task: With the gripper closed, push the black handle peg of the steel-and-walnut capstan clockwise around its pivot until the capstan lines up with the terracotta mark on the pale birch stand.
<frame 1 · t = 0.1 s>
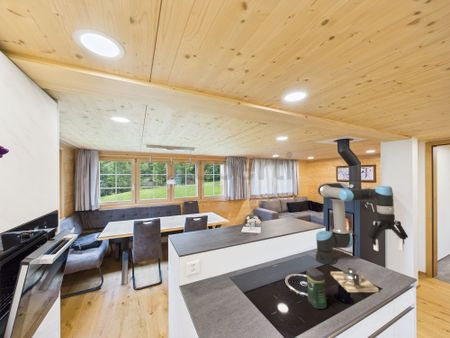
hand: (388, 250, 103), 28 cm above the counter, tool pointing down, fingers open, 13 cm apart
stand: (352, 282, 120), on the counter
coffee jar: (317, 304, 101), on the counter
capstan: (353, 275, 116), point 6 cm above the counter, hinge at 0.0°
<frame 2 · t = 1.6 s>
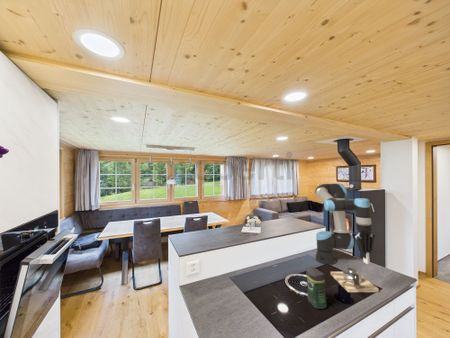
hand: (366, 262, 109), 18 cm above the counter, tool pointing down, fingers closed
nothing on the counter moved.
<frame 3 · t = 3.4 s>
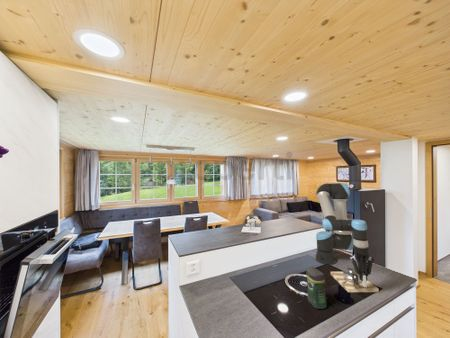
hand: (363, 285, 109), 4 cm above the counter, tool pointing down, fingers closed
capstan: (353, 275, 116), point 6 cm above the counter, hinge at -1.7°, touching gripper
everything else where it was.
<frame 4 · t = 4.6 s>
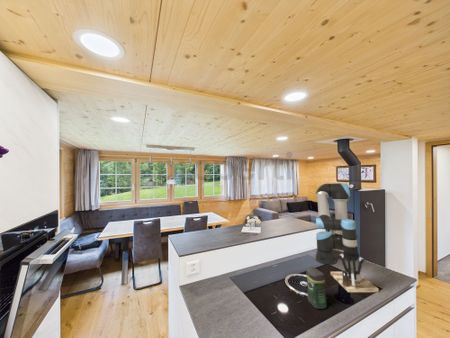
hand: (353, 284, 110), 4 cm above the counter, tool pointing down, fingers closed
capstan: (349, 274, 118), point 6 cm above the counter, hinge at -30.6°, touching gripper
everything else where it was.
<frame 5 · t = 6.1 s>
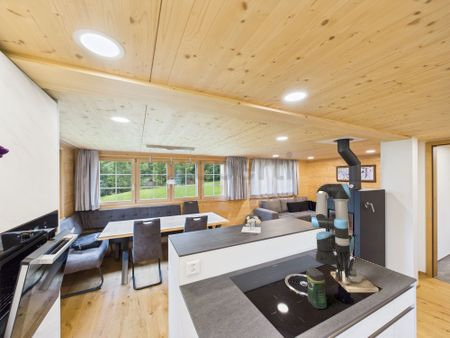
hand: (345, 281, 113), 4 cm above the counter, tool pointing down, fingers closed
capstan: (347, 273, 119), point 6 cm above the counter, hinge at -54.6°
everything else where it was.
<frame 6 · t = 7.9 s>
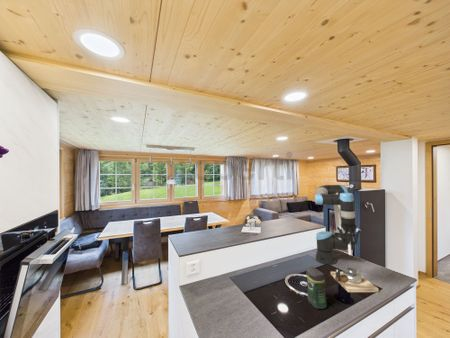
hand: (350, 254, 115), 21 cm above the counter, tool pointing down, fingers closed
nothing on the counter moved.
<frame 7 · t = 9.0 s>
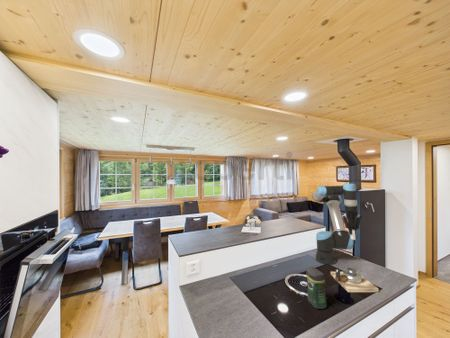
hand: (353, 239, 126), 26 cm above the counter, tool pointing down, fingers closed
nothing on the counter moved.
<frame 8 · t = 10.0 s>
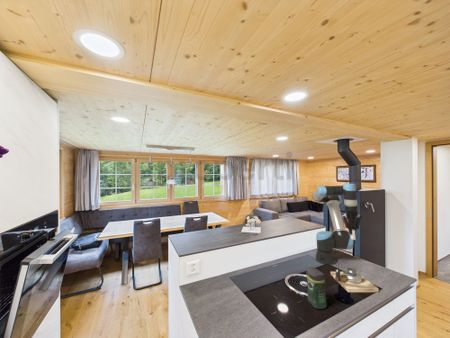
hand: (353, 239, 126), 26 cm above the counter, tool pointing down, fingers closed
nothing on the counter moved.
at the end: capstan at -55° (first picture: +0°); coffee jar moved 0.2 cm from its start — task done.
